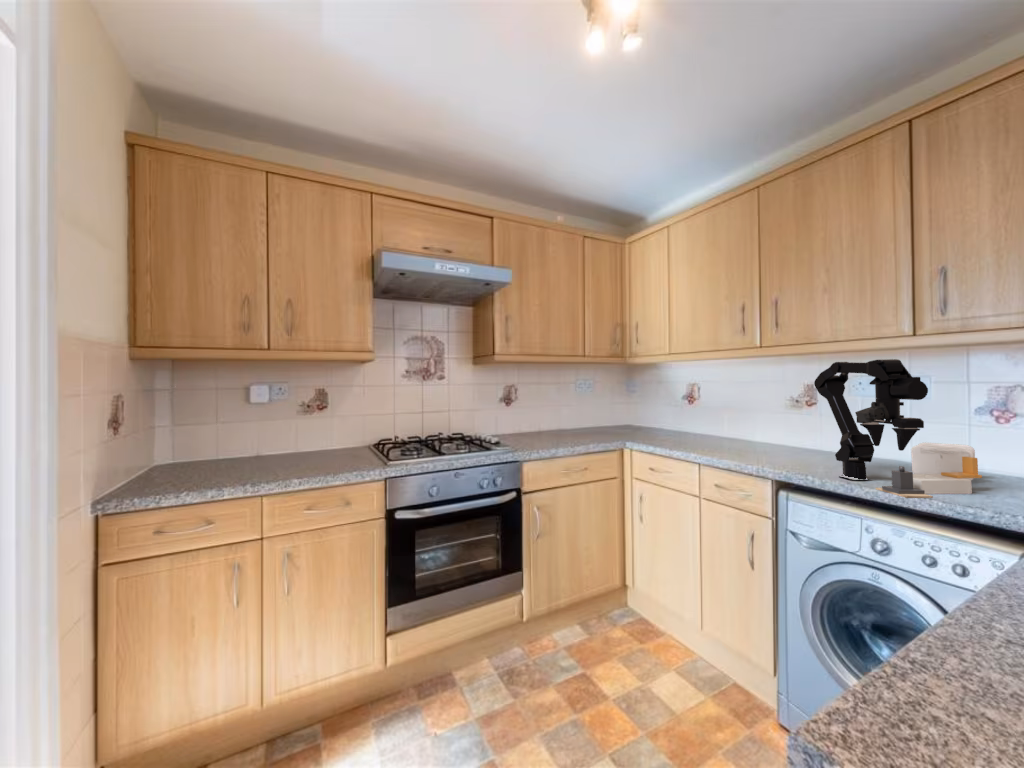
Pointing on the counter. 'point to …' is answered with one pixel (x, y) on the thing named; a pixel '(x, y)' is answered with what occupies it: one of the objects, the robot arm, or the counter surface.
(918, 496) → the cork pad
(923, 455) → the cable organizer
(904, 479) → the plug
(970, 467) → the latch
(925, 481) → the white recessed block
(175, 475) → the counter surface
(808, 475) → the counter surface
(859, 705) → the counter surface
